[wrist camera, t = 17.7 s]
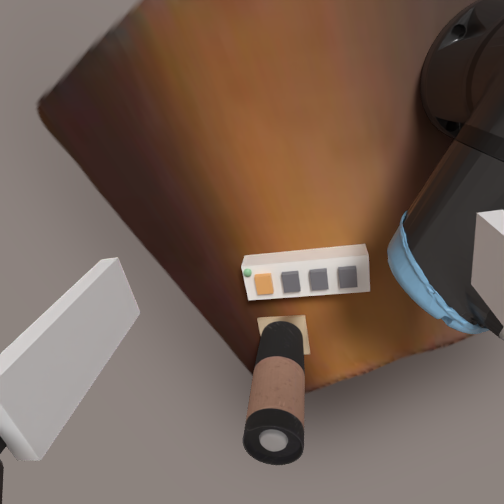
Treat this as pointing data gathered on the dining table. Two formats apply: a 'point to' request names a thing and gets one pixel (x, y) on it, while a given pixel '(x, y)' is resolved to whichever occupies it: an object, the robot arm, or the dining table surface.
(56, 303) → the robot arm
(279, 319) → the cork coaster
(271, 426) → the travel mug
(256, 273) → the socket strip
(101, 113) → the dining table surface
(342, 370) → the dining table surface
